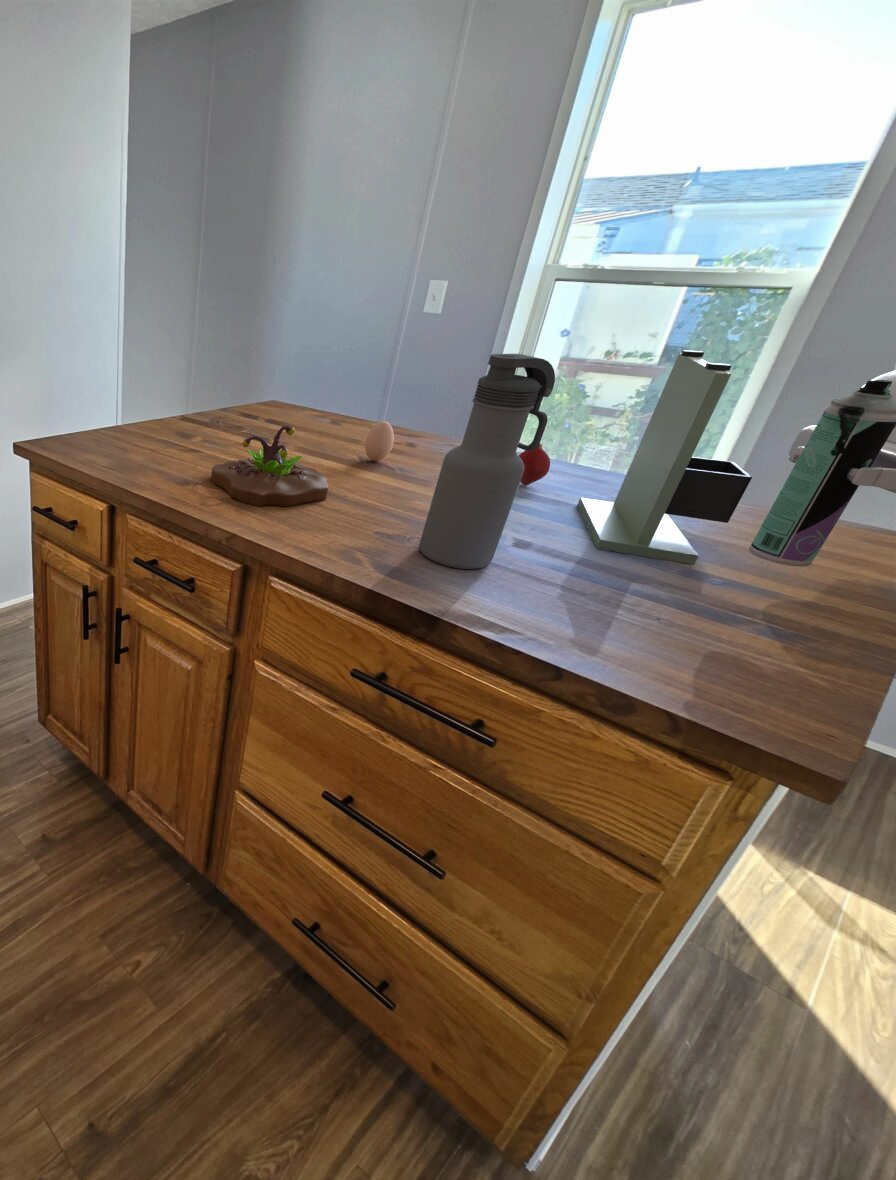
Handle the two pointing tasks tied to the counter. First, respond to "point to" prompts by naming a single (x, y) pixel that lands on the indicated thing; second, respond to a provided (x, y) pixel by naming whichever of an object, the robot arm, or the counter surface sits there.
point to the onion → (534, 465)
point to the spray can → (826, 475)
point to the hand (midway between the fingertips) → (822, 464)
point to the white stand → (671, 472)
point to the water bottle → (486, 464)
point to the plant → (270, 476)
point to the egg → (379, 441)
